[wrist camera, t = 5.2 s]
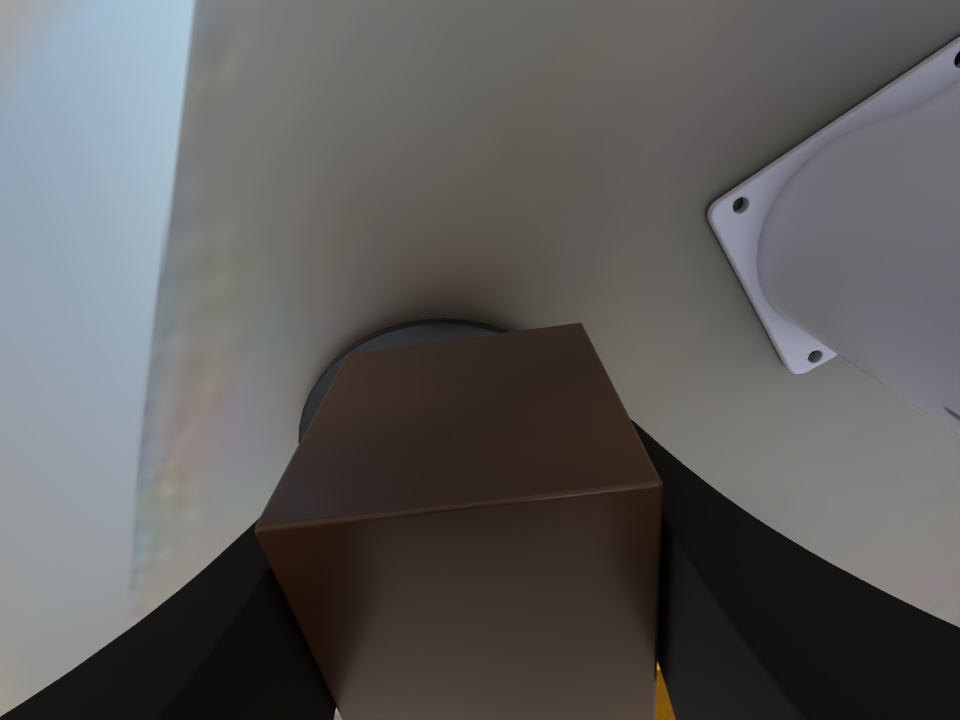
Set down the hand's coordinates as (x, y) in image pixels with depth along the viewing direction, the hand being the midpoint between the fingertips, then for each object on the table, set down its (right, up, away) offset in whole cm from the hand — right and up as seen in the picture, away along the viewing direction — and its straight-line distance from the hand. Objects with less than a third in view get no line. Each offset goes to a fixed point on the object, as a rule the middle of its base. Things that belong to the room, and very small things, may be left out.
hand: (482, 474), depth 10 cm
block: (0, +1, +1) cm, 1 cm away
